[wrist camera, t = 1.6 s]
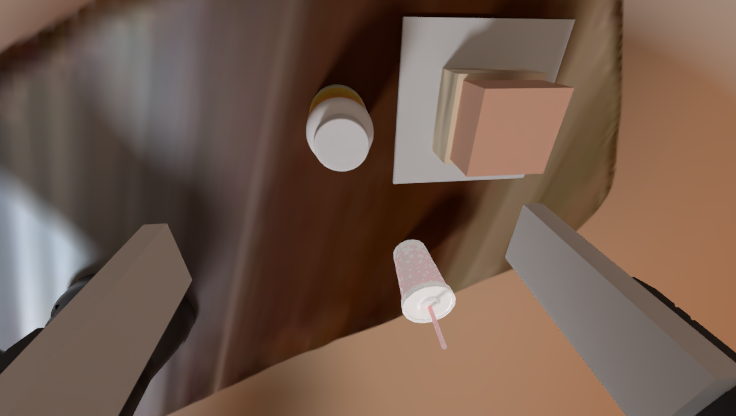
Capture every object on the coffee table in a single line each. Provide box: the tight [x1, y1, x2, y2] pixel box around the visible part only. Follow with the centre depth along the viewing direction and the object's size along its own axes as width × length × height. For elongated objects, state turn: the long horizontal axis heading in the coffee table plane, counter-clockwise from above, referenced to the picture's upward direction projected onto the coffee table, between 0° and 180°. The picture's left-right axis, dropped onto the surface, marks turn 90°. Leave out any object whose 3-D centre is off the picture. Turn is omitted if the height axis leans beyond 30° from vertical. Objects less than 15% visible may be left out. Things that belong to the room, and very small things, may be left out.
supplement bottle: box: [306, 85, 374, 171], centre depth 24 cm, size 5×5×10 cm
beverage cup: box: [394, 239, 456, 349], centre depth 33 cm, size 6×6×14 cm
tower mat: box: [393, 17, 575, 184], centre depth 30 cm, size 16×16×1 cm
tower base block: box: [432, 68, 548, 164], centre depth 28 cm, size 8×8×4 cm
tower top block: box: [450, 80, 574, 177], centre depth 24 cm, size 7×7×4 cm
